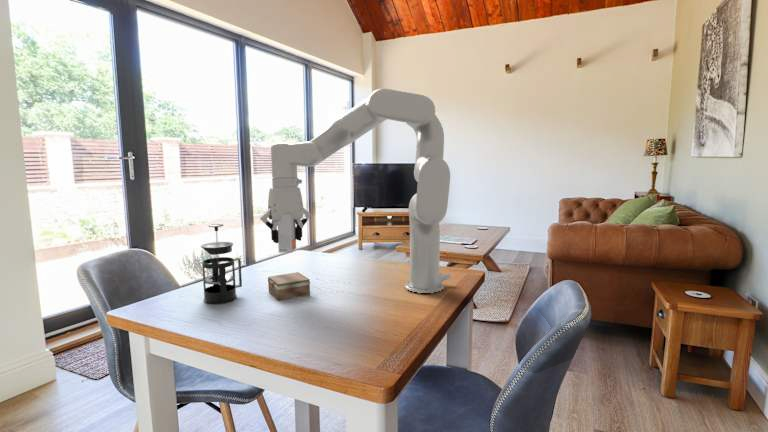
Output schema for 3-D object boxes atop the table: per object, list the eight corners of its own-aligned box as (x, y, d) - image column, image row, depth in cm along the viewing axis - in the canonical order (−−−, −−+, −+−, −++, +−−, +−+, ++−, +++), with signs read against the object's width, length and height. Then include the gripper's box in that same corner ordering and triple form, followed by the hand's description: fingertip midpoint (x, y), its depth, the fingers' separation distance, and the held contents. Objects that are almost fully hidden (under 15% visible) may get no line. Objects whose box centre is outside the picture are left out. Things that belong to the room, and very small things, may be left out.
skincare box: (292, 252, 130) (290, 213, 128) (278, 252, 130) (276, 213, 128) (296, 248, 136) (295, 211, 134) (283, 248, 136) (281, 211, 134)
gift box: (298, 286, 141) (298, 272, 141) (310, 294, 133) (309, 279, 132) (266, 292, 136) (265, 276, 135) (276, 301, 127) (275, 284, 127)
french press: (205, 306, 123) (200, 228, 120) (198, 298, 130) (193, 224, 127) (246, 299, 129) (242, 224, 126) (237, 291, 137) (233, 220, 134)
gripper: (307, 182, 138) (309, 236, 140) (253, 184, 129) (255, 242, 131) (316, 183, 131) (318, 240, 134) (260, 185, 122) (262, 246, 125)
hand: (287, 240), depth 132 cm, fingers closed on skincare box, 6 cm apart
